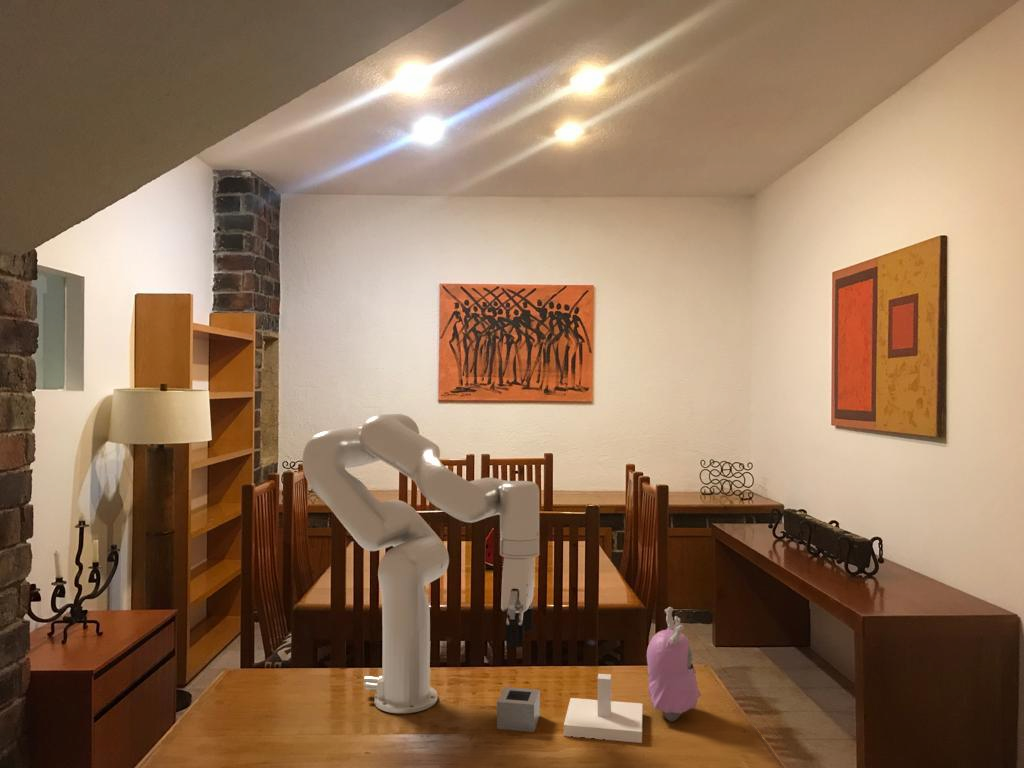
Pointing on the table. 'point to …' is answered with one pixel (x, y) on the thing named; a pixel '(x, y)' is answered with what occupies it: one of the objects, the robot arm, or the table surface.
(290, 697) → the table surface
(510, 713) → the collar
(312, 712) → the table surface
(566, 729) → the post plinth
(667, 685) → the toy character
